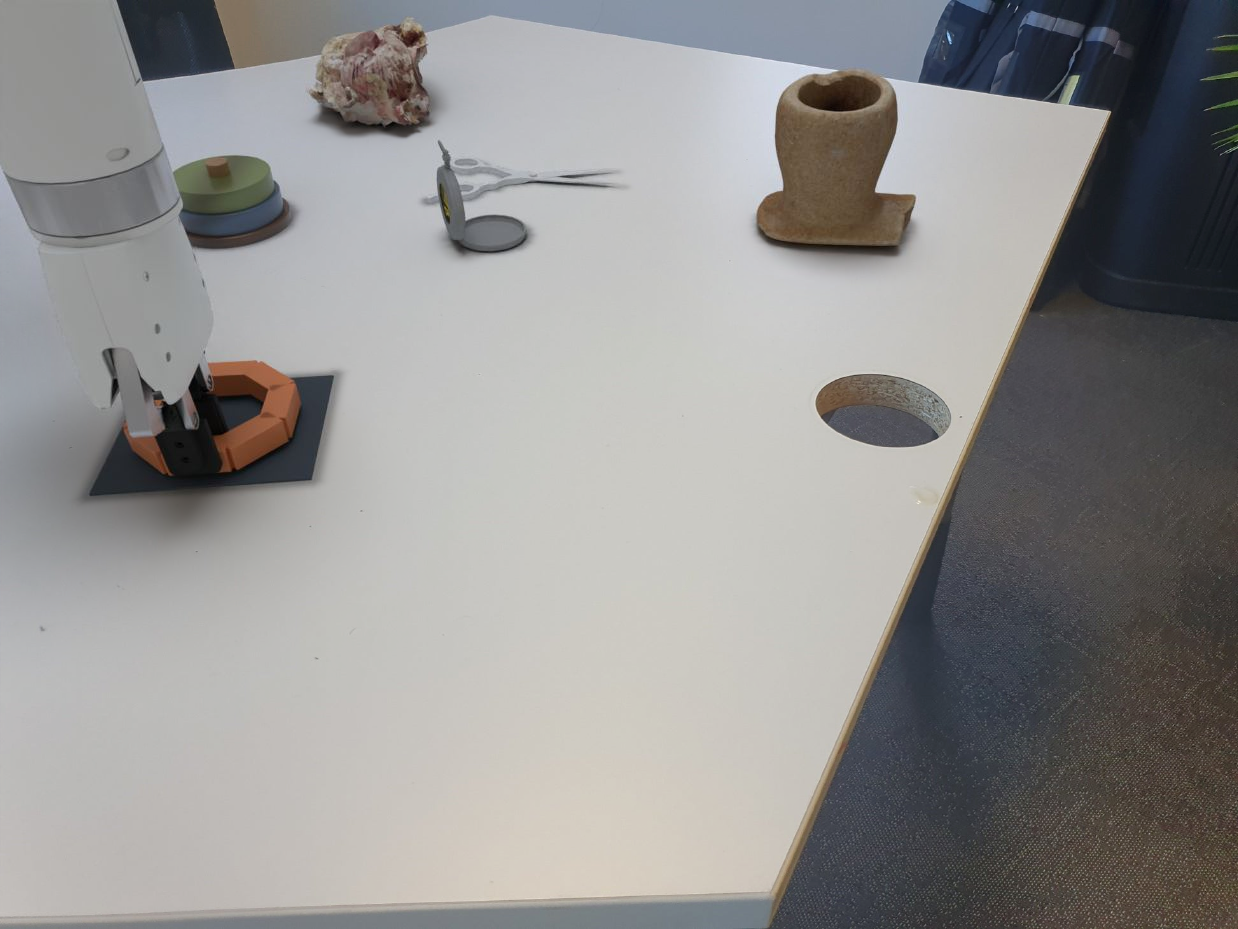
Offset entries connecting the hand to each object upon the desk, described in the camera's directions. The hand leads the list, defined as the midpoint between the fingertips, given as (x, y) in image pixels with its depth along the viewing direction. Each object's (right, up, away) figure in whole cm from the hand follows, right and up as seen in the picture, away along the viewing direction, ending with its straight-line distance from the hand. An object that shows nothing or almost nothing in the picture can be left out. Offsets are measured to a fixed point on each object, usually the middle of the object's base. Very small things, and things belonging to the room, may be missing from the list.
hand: (201, 456), depth 59 cm
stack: (-10, +23, +30) cm, 39 cm away
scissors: (+18, +30, +38) cm, 51 cm away
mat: (-1, +2, +4) cm, 5 cm away
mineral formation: (-3, +44, +55) cm, 71 cm away
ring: (-1, +2, +4) cm, 4 cm away
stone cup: (+48, +21, +28) cm, 60 cm away
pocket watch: (+14, +21, +27) cm, 37 cm away
